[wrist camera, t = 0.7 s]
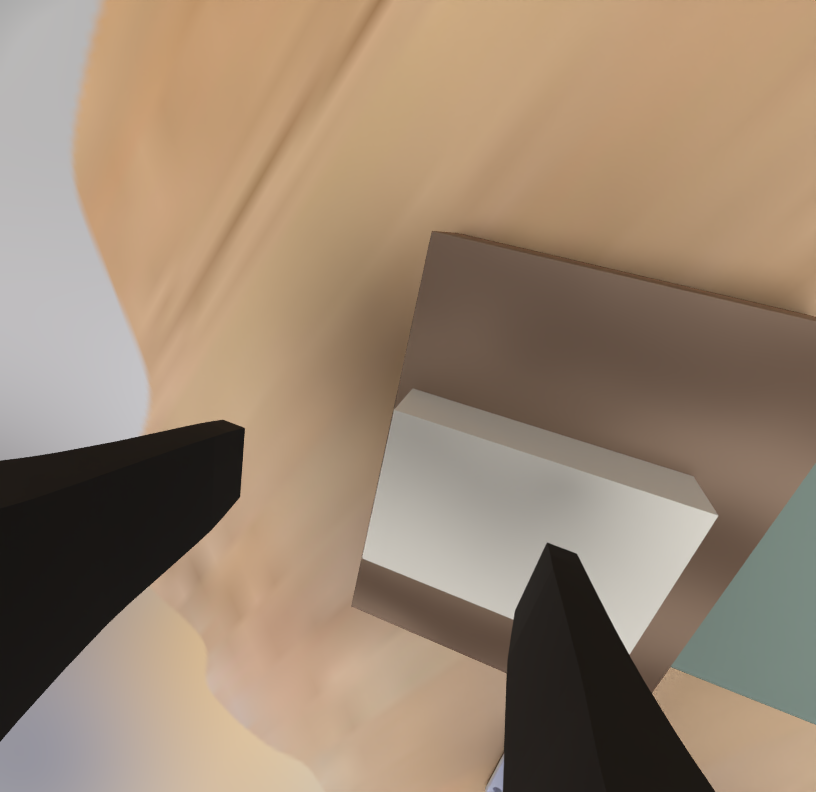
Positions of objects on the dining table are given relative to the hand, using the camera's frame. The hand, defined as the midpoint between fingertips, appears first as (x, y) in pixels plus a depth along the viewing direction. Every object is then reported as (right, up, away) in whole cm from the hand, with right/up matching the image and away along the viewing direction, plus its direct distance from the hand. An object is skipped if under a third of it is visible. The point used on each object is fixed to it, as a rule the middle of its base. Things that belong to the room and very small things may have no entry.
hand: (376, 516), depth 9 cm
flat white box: (+4, -1, +5) cm, 7 cm away
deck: (+7, 0, +9) cm, 11 cm away
